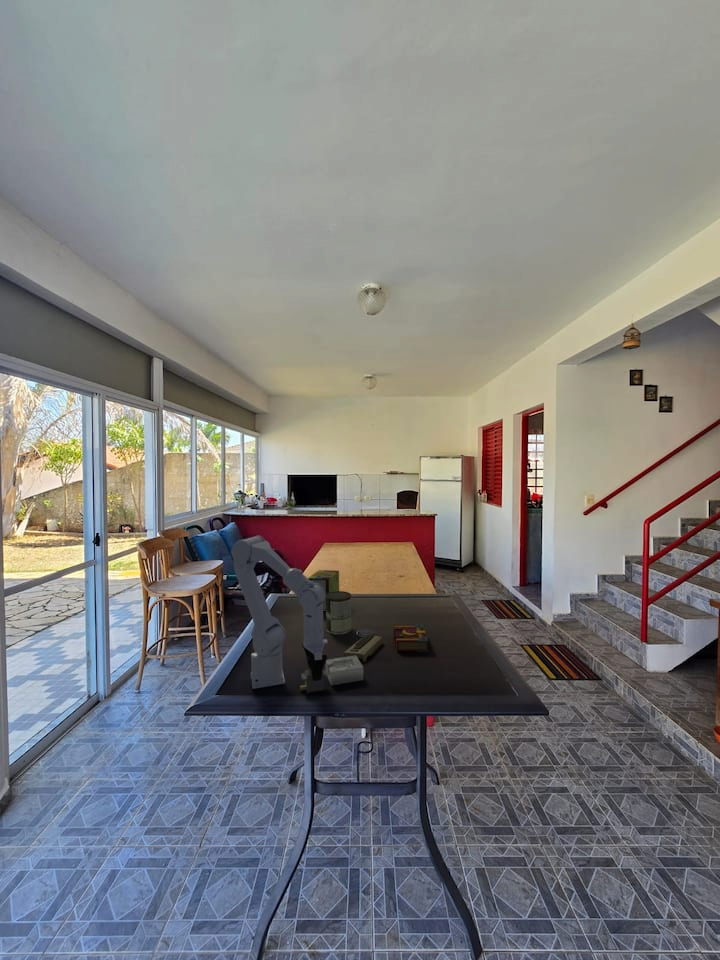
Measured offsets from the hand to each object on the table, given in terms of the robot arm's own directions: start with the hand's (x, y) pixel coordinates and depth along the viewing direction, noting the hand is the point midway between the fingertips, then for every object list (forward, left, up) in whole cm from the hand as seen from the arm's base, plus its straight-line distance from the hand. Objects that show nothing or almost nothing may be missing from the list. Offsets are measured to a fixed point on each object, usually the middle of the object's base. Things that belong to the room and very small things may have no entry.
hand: (314, 673), depth 115 cm
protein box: (+17, +69, -5) cm, 71 cm away
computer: (+21, +19, -5) cm, 29 cm away
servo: (0, 0, -5) cm, 5 cm away
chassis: (+10, +4, -4) cm, 12 cm away
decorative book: (+39, +20, -5) cm, 44 cm away
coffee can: (+17, +40, -5) cm, 44 cm away
